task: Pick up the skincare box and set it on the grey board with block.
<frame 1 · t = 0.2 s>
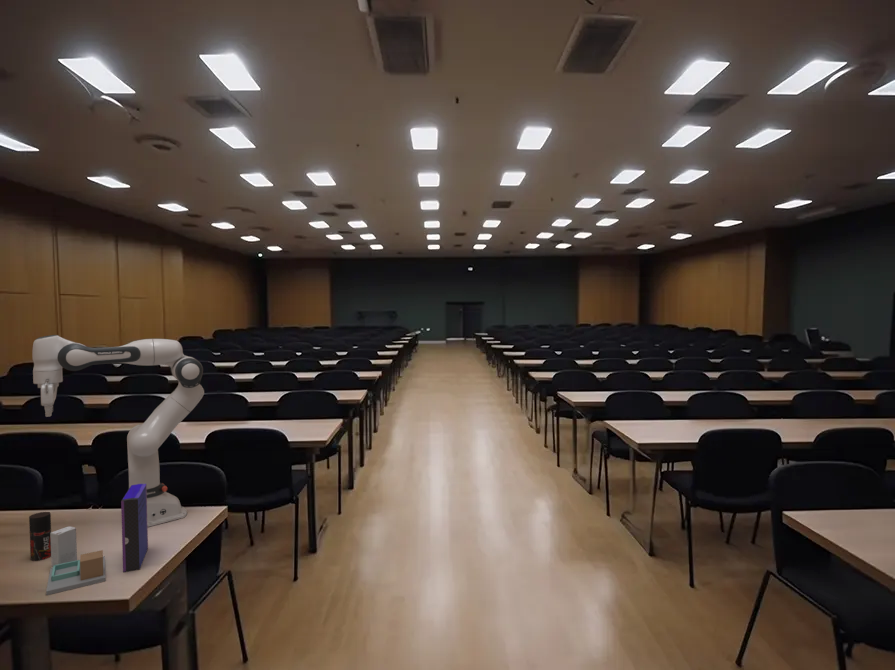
hand: (49, 414, 198), 48 cm above the table, fingers open, 8 cm apart
grey board with block: (77, 576, 170), on the table
cereal box: (136, 560, 181), on the table
skincare box: (64, 565, 178), on the table
deodorant: (41, 557, 184), on the table
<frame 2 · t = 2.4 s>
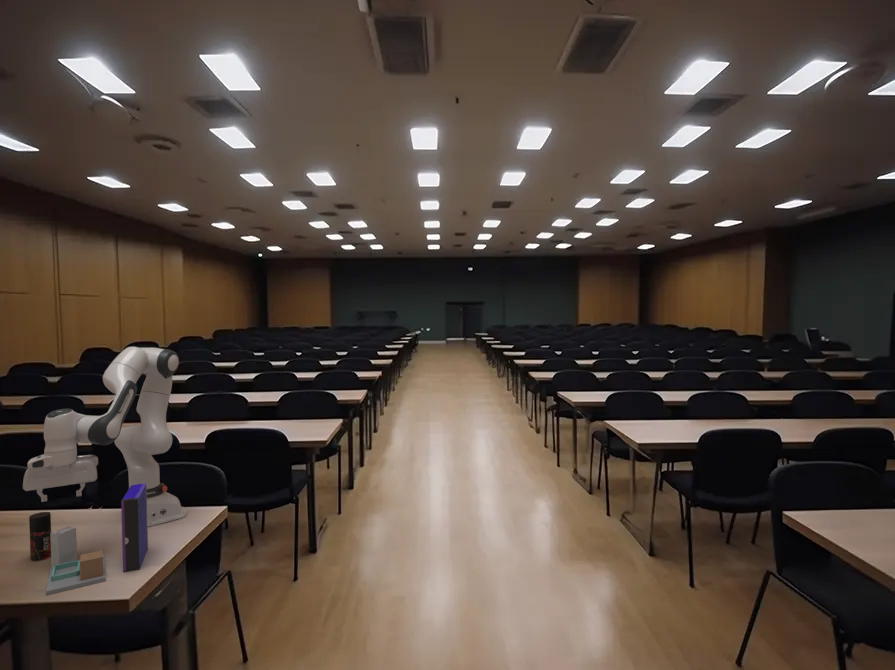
hand: (61, 498, 177), 23 cm above the table, fingers open, 8 cm apart
nothing on the table moved.
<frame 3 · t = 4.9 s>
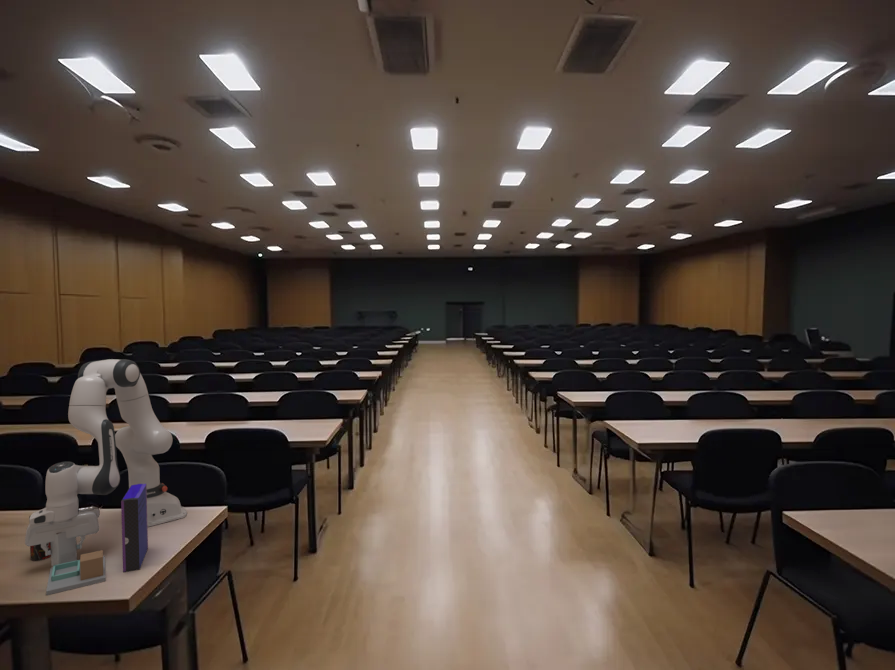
hand: (63, 551, 177), 5 cm above the table, fingers closed on skincare box, 7 cm apart
skincare box: (64, 565, 178), on the table, touching gripper
everything else where it was.
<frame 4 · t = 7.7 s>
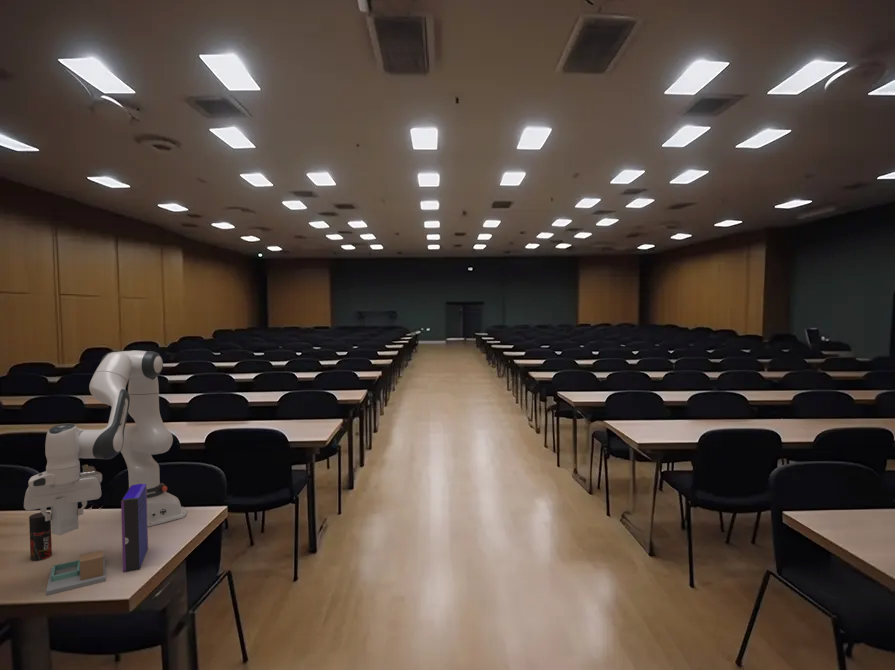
hand: (64, 517, 169), 19 cm above the table, fingers closed on skincare box, 7 cm apart
skincare box: (65, 532, 169), point 14 cm above the table, touching gripper
everything else where it was.
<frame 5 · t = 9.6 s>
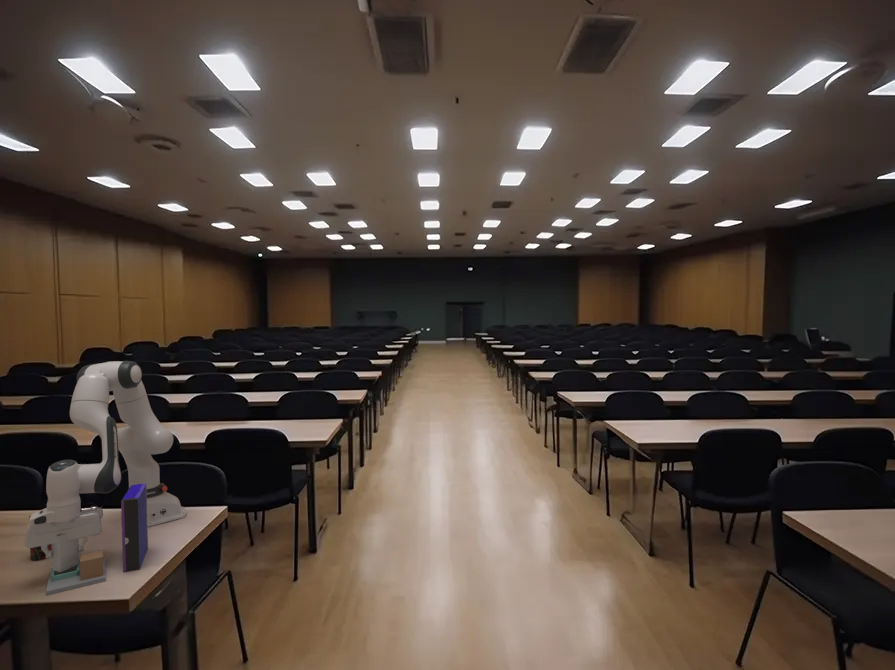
hand: (65, 553, 169), 7 cm above the table, fingers closed on skincare box, 7 cm apart
skincare box: (65, 568, 170), point 3 cm above the table, touching grey board with block, gripper
everything else where it was.
when the fingers open (7 cm above the table, at t = 10.9 s): skincare box stays where it is, resting on grey board with block.
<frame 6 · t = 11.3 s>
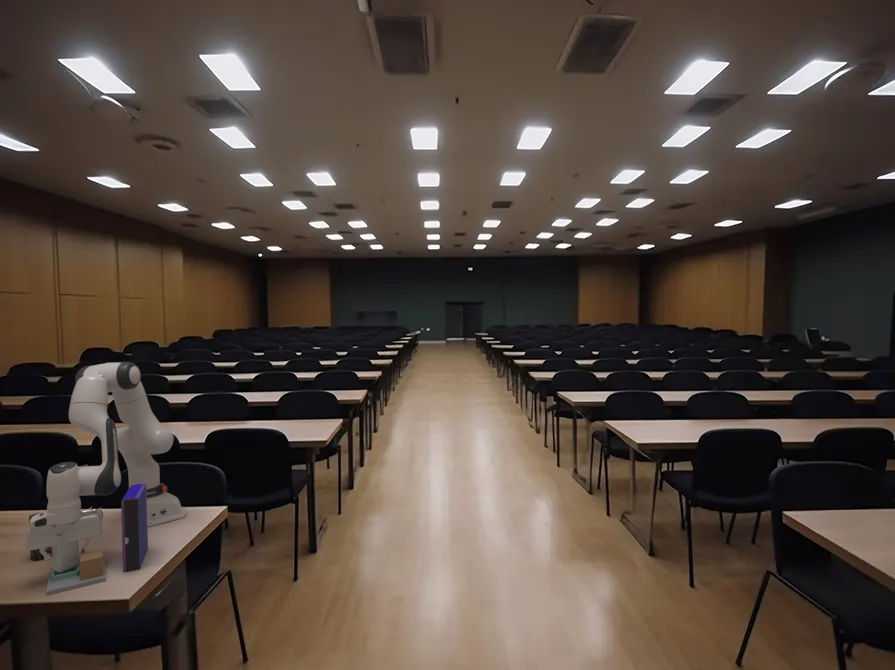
hand: (65, 556, 169), 7 cm above the table, fingers open, 8 cm apart
skincare box: (65, 568, 170), point 3 cm above the table, touching grey board with block
everything else where it was.
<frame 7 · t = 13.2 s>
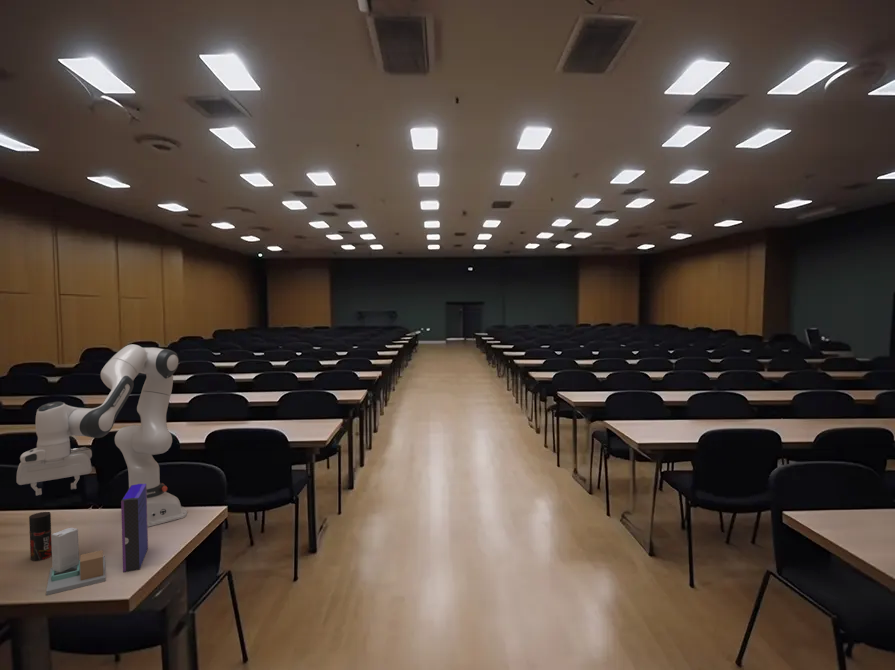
hand: (56, 491, 176), 25 cm above the table, fingers open, 8 cm apart
nothing on the table moved.
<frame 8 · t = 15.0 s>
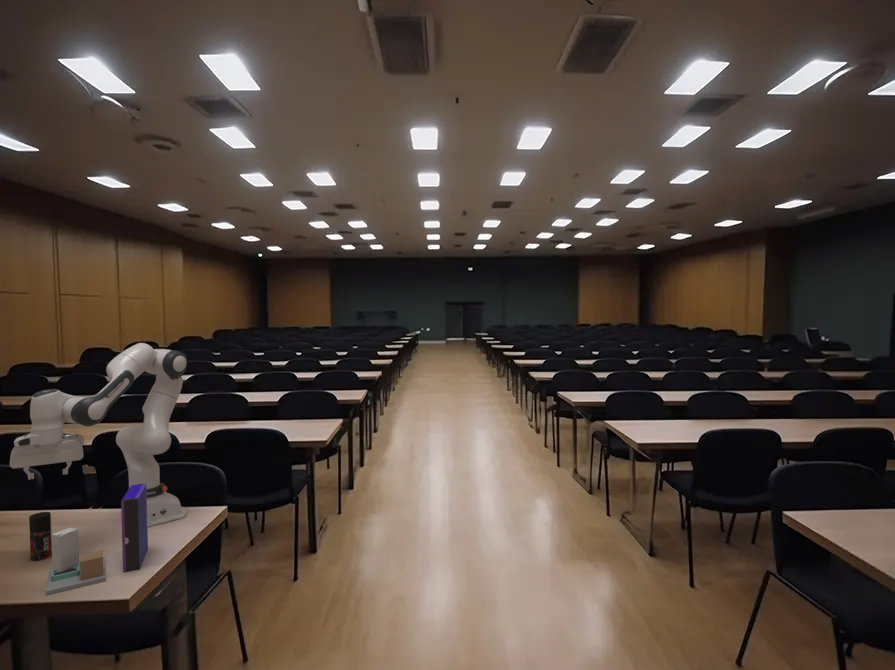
hand: (48, 476, 181), 29 cm above the table, fingers open, 8 cm apart
nothing on the table moved.
at the end: skincare box 0.3 cm from the target spot on the grey board with block, point 2.5 cm above the grey board with block's base; skincare box tilted 0°; the gripper is holding nothing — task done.
